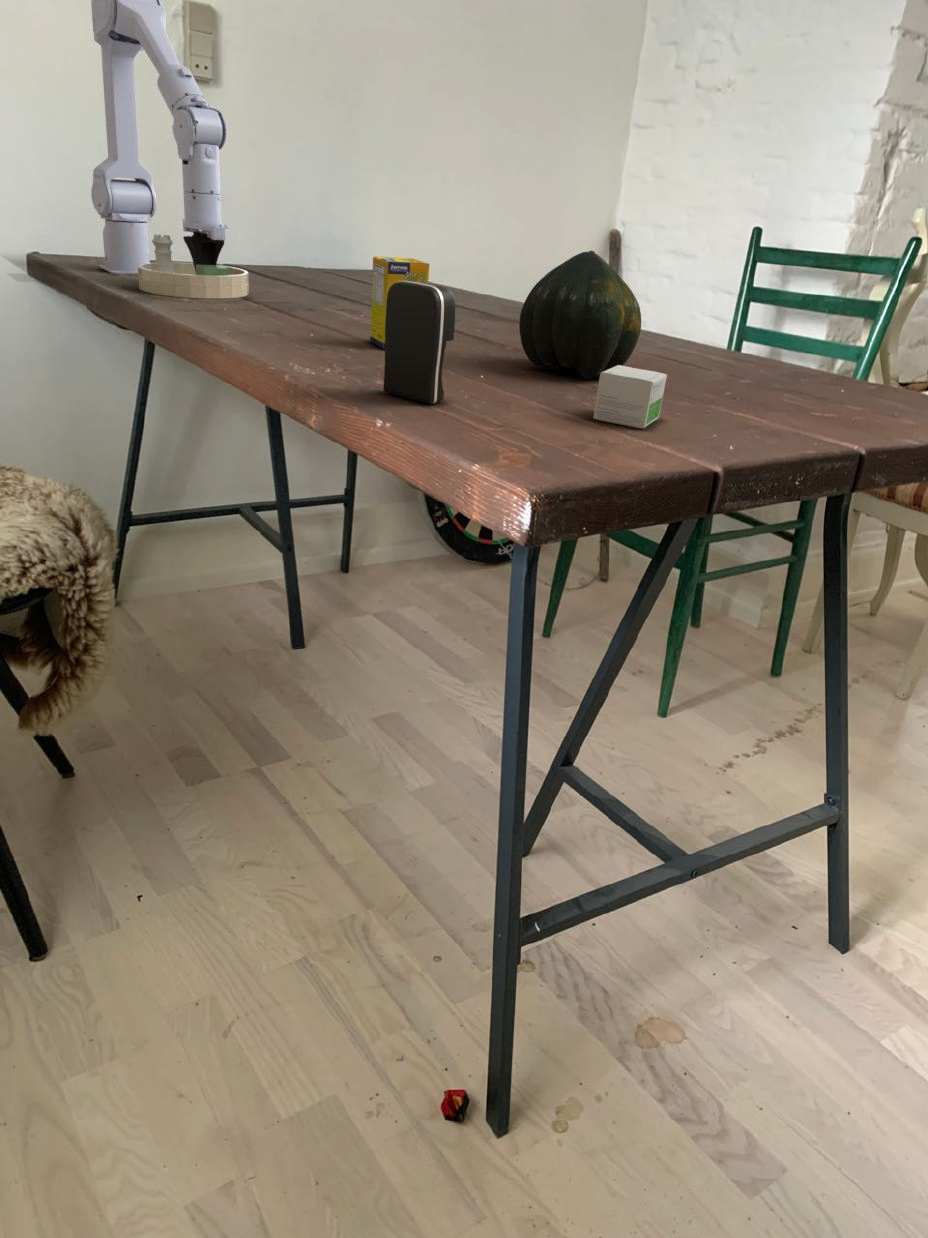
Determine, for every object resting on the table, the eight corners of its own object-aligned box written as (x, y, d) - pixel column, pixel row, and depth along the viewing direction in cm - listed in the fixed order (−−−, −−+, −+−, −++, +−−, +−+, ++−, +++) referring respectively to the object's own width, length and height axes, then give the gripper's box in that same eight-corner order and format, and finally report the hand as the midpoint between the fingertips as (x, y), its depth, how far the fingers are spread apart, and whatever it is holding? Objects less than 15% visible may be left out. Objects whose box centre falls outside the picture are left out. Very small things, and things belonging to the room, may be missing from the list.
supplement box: (425, 350, 120) (430, 262, 116) (382, 349, 118) (385, 260, 113) (411, 342, 125) (415, 257, 121) (369, 341, 123) (372, 255, 118)
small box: (645, 430, 91) (653, 380, 89) (591, 419, 93) (598, 371, 91) (660, 419, 95) (669, 372, 93) (608, 410, 97) (616, 363, 95)
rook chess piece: (149, 285, 150) (145, 233, 146) (176, 286, 152) (174, 234, 148) (152, 289, 146) (149, 235, 143) (181, 290, 148) (178, 237, 144)
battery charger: (454, 401, 95) (463, 286, 90) (430, 406, 92) (438, 287, 87) (403, 388, 99) (410, 277, 94) (380, 392, 96) (385, 278, 91)
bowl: (126, 286, 151) (124, 260, 149) (226, 287, 160) (225, 263, 158) (158, 302, 138) (156, 274, 136) (264, 302, 147) (264, 276, 146)
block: (196, 290, 149) (195, 264, 148) (220, 290, 151) (219, 264, 150) (205, 294, 146) (203, 267, 145) (229, 294, 148) (228, 268, 147)
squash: (565, 341, 103) (636, 236, 104) (479, 323, 113) (545, 228, 114) (617, 416, 113) (681, 319, 114) (534, 394, 123) (594, 306, 124)
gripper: (242, 197, 142) (244, 289, 148) (210, 191, 152) (213, 277, 158) (198, 194, 138) (202, 288, 144) (168, 188, 149) (173, 276, 155)
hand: (205, 282), depth 151 cm, fingers closed
